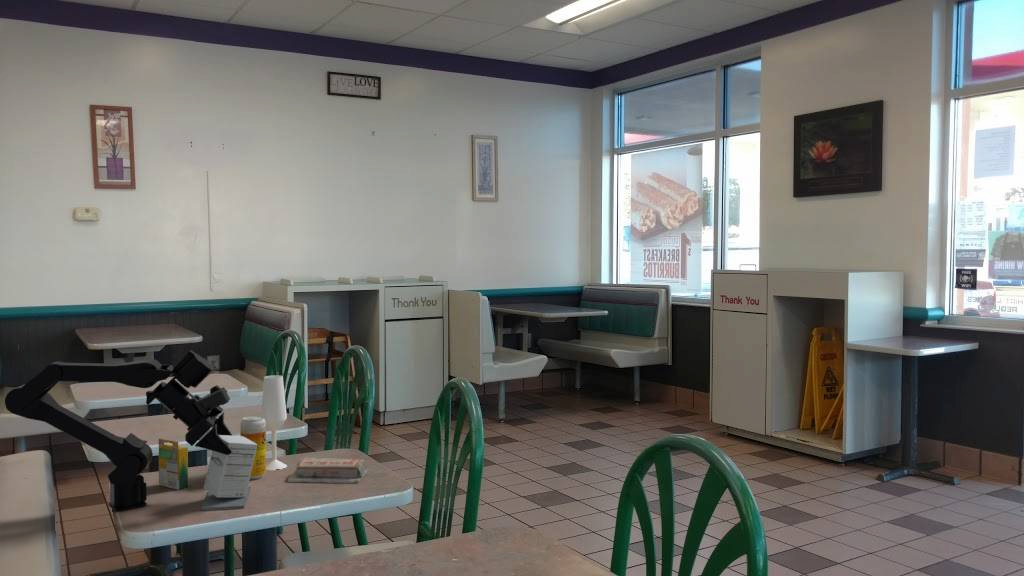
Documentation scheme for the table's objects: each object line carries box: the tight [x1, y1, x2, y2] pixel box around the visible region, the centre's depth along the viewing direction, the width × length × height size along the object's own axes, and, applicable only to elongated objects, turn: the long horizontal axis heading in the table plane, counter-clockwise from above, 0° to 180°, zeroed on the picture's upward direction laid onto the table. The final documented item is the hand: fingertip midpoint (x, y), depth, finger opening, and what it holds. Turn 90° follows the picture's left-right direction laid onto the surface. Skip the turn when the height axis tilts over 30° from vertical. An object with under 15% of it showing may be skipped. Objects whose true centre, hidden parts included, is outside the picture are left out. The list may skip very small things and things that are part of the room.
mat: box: [200, 486, 251, 512], centre depth 182 cm, size 9×14×1 cm, turn 13°
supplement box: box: [203, 435, 257, 497], centre depth 182 cm, size 7×7×13 cm
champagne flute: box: [260, 374, 288, 471], centre depth 209 cm, size 7×7×24 cm
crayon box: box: [158, 438, 189, 491], centre depth 192 cm, size 7×3×12 cm, turn 61°
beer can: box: [239, 415, 267, 480], centre depth 200 cm, size 6×6×15 cm
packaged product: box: [287, 457, 368, 484], centre depth 201 cm, size 18×5×10 cm
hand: (232, 448), depth 182 cm, fingers closed on supplement box, 9 cm apart
